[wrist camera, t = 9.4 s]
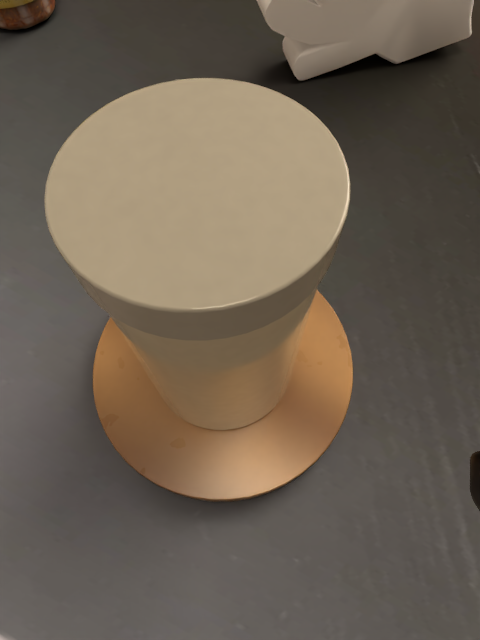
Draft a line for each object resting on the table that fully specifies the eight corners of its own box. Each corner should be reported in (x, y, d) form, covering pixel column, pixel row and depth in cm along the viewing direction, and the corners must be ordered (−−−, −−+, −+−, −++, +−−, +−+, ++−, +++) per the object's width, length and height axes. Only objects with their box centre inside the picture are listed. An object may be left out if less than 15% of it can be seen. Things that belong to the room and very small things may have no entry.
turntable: (289, 556, 19) (291, 557, 18) (47, 425, 22) (38, 420, 21) (382, 315, 24) (387, 306, 23) (177, 233, 27) (174, 222, 26)
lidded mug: (305, 430, 20) (378, 301, 9) (145, 439, 20) (18, 320, 9) (284, 256, 24) (317, 21, 13) (152, 263, 24) (73, 32, 13)
